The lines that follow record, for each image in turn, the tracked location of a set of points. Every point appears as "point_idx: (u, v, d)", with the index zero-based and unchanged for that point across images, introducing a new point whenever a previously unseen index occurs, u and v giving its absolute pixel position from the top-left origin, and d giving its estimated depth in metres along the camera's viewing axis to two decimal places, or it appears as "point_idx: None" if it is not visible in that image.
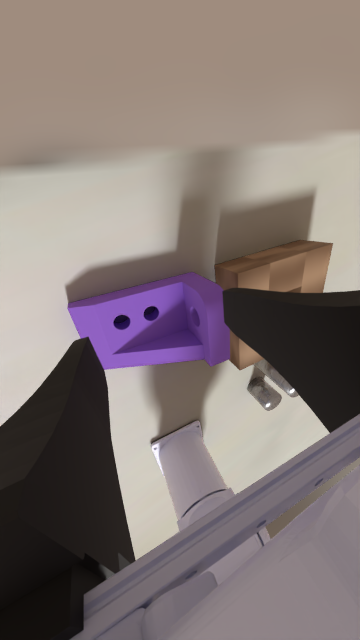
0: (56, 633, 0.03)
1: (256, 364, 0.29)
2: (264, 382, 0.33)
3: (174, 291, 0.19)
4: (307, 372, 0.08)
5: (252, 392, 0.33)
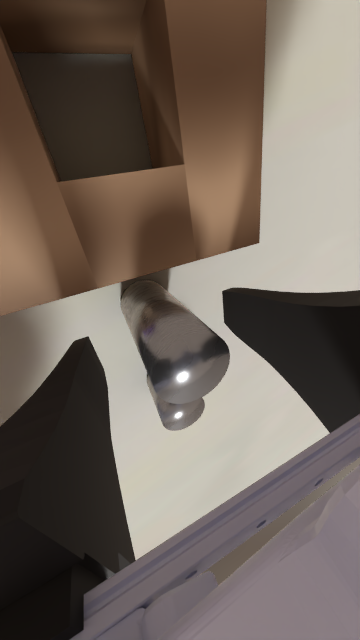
0: (56, 633, 0.03)
1: (127, 322, 0.12)
2: None
3: None
4: (307, 372, 0.08)
5: (150, 391, 0.16)
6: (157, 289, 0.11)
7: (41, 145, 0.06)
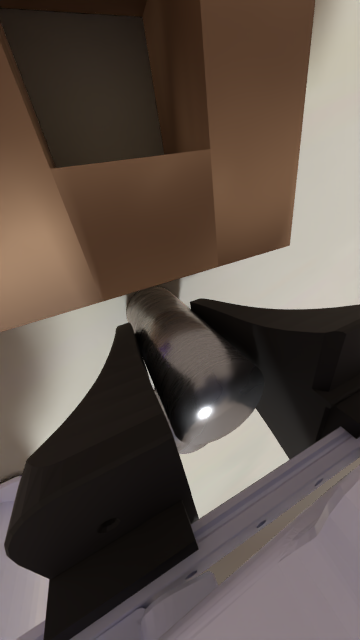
0: (186, 544, 0.03)
1: None
2: None
3: None
4: (265, 394, 0.07)
5: None
6: (169, 298, 0.10)
7: (29, 118, 0.05)
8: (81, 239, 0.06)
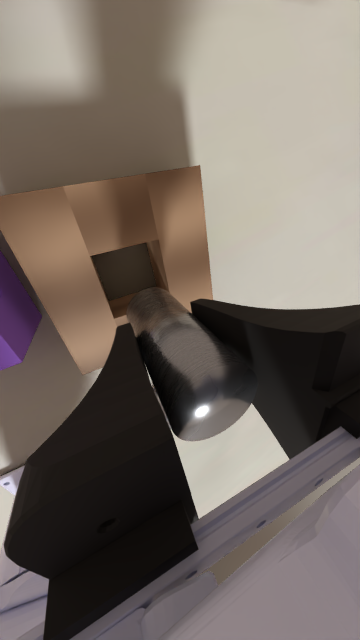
0: (187, 544, 0.03)
1: None
2: None
3: None
4: (265, 394, 0.07)
5: None
6: (168, 300, 0.10)
7: (109, 307, 0.15)
8: None
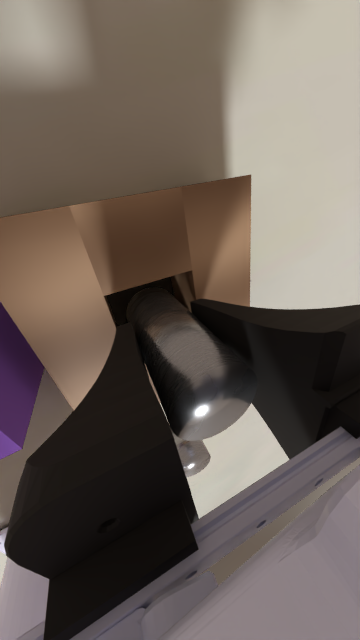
0: (187, 544, 0.03)
1: None
2: None
3: None
4: (265, 394, 0.07)
5: None
6: (168, 300, 0.10)
7: None
8: None
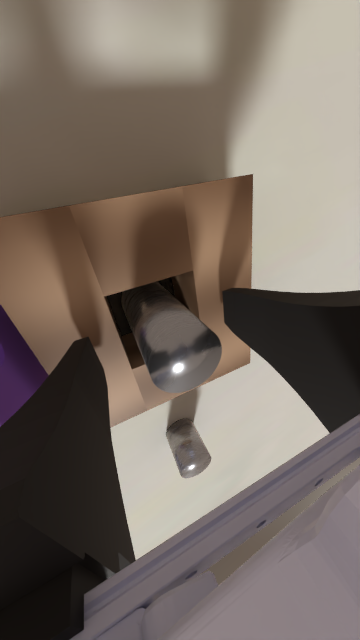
0: (56, 633, 0.03)
1: (127, 318, 0.13)
2: (188, 429, 0.21)
3: None
4: (307, 372, 0.08)
5: (170, 444, 0.21)
6: (155, 287, 0.12)
7: (126, 357, 0.11)
8: (141, 389, 0.13)
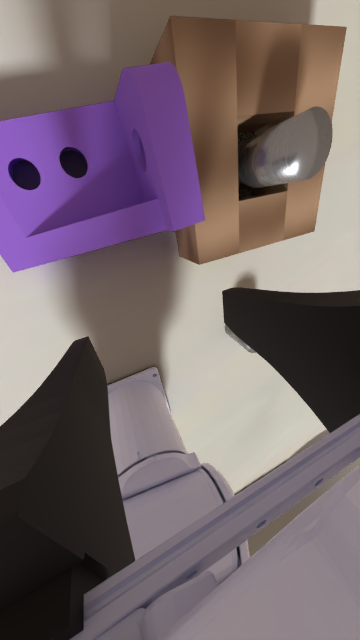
0: (56, 633, 0.03)
1: None
2: None
3: (104, 120, 0.12)
4: (307, 372, 0.08)
5: (230, 331, 0.24)
6: None
7: (237, 186, 0.14)
8: (240, 226, 0.16)
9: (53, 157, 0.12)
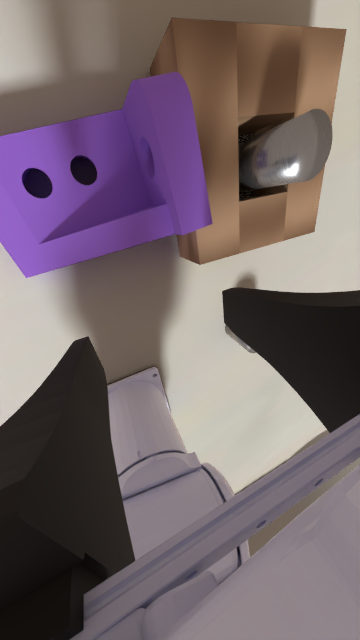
0: (56, 633, 0.03)
1: None
2: None
3: (113, 128, 0.12)
4: (307, 372, 0.08)
5: (231, 331, 0.24)
6: None
7: (238, 186, 0.14)
8: (240, 226, 0.16)
9: (64, 166, 0.12)
